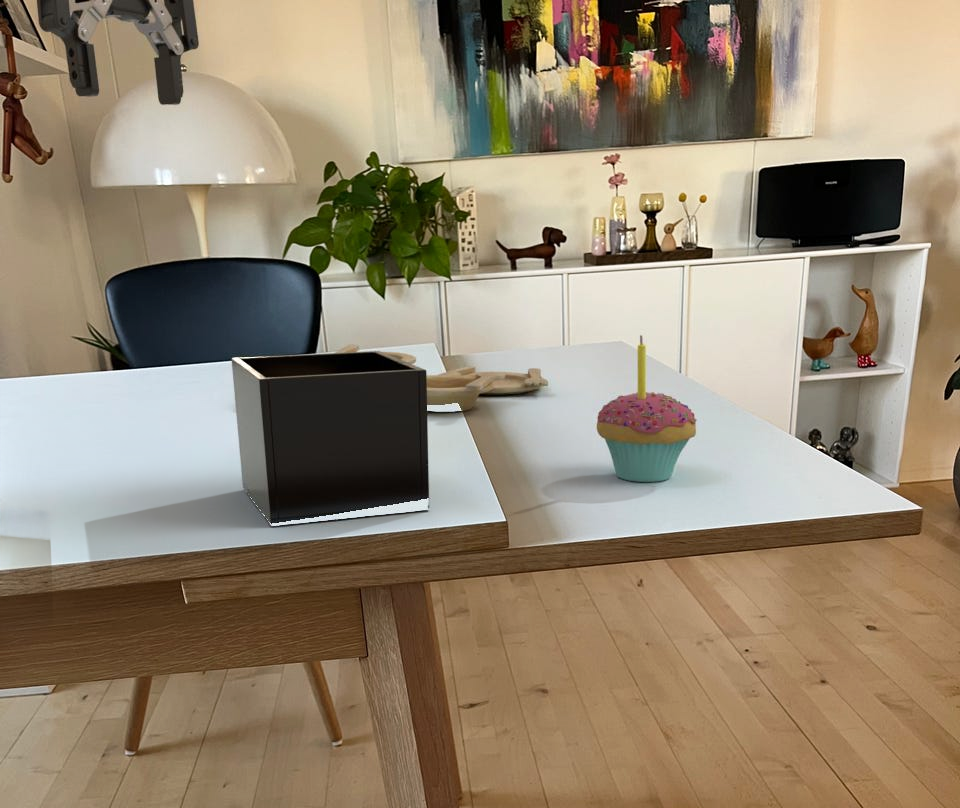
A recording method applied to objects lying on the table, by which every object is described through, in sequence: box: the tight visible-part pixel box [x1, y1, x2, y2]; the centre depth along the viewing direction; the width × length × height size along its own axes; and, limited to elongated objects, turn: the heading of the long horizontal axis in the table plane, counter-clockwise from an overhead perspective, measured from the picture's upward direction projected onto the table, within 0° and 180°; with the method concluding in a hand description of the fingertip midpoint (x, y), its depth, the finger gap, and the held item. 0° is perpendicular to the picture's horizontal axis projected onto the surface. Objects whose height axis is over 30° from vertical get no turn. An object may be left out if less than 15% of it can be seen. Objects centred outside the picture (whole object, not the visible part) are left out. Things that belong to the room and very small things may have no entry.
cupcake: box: [596, 334, 698, 483], centre depth 88 cm, size 9×8×12 cm
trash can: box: [230, 350, 430, 524], centre depth 81 cm, size 12×12×11 cm
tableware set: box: [334, 343, 549, 413], centre depth 130 cm, size 35×29×4 cm
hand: (130, 100), depth 89 cm, fingers open, 8 cm apart
